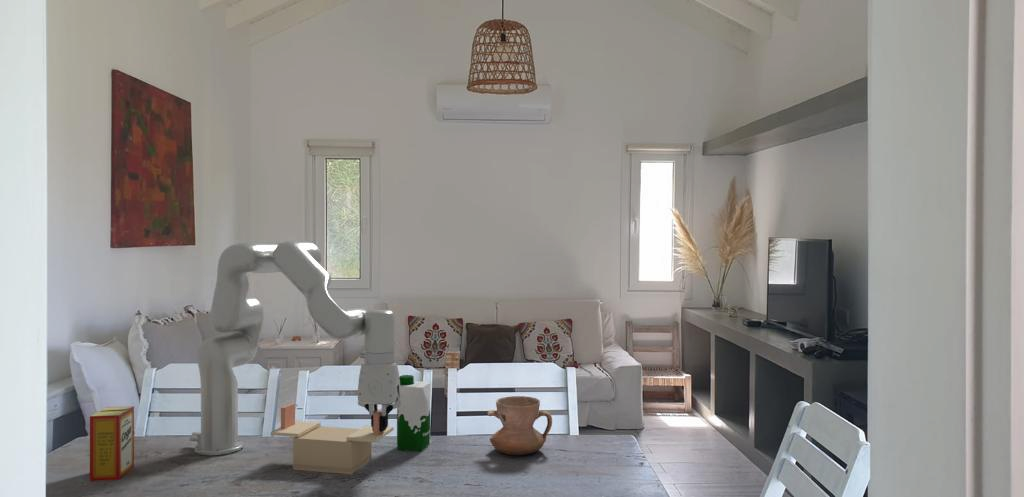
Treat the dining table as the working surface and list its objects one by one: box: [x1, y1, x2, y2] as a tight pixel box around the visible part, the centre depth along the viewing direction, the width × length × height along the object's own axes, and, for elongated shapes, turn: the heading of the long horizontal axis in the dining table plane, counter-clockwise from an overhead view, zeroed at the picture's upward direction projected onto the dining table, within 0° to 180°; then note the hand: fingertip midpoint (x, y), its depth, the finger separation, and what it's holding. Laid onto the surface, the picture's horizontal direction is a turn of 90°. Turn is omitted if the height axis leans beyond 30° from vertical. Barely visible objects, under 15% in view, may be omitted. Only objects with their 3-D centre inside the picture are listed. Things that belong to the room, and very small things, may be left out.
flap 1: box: [270, 403, 322, 438], centre depth 182 cm, size 8×12×6 cm
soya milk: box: [396, 374, 432, 452], centre depth 195 cm, size 9×9×20 cm
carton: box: [292, 425, 373, 475], centre depth 179 cm, size 16×12×8 cm
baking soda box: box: [89, 406, 135, 482], centre depth 171 cm, size 10×6×16 cm
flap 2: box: [346, 408, 395, 443], centre depth 177 cm, size 8×12×6 cm
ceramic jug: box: [487, 395, 553, 456], centre depth 191 cm, size 18×14×14 cm
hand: (379, 429), depth 176 cm, fingers closed
